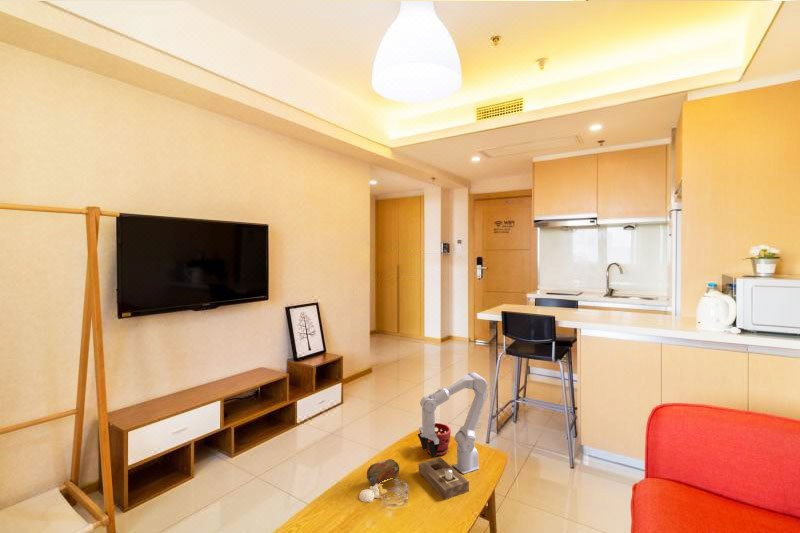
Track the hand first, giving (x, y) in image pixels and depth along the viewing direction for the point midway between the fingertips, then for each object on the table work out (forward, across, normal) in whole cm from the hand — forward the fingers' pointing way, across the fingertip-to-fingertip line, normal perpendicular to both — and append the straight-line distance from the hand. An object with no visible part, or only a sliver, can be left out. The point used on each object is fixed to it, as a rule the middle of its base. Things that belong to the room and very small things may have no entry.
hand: (429, 453), depth 170 cm
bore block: (+9, +8, +2) cm, 13 cm away
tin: (+10, -5, -21) cm, 24 cm away
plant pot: (+10, -15, +14) cm, 23 cm away
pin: (+9, +13, +2) cm, 16 cm away
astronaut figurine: (+10, +2, -28) cm, 30 cm away
